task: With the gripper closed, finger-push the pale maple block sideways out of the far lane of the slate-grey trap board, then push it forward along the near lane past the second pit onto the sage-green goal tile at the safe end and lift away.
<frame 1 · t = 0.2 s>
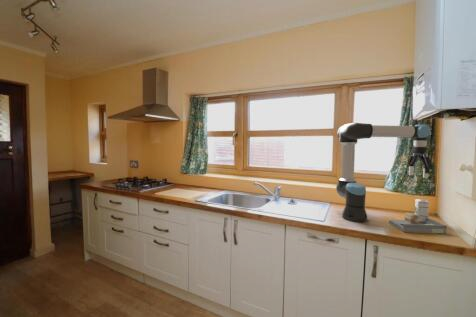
hand: (417, 176, 158), 28 cm above the countertop, fingers open, 13 cm apart
trap board: (415, 228, 134), on the countertop
syrup box: (420, 222, 144), on the countertop
maple block: (411, 222, 137), point 2 cm above the countertop, touching trap board
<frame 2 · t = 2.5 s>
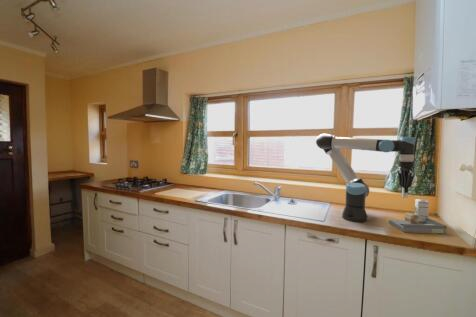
hand: (404, 197, 144), 16 cm above the countertop, fingers closed
nothing on the countertop moved.
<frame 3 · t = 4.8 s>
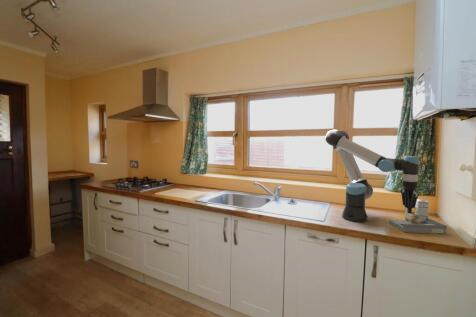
hand: (407, 217, 141), 4 cm above the countertop, fingers closed
maple block: (412, 222, 137), point 3 cm above the countertop, touching gripper
everything else where it was.
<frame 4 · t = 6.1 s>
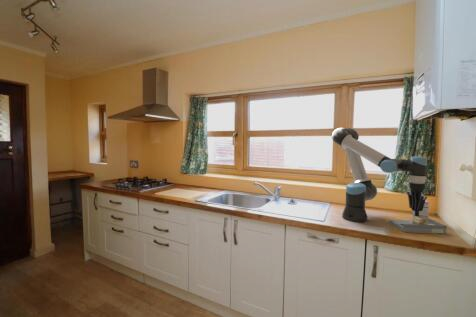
hand: (414, 221, 134), 4 cm above the countertop, fingers closed
maple block: (419, 225, 130), point 2 cm above the countertop, touching gripper, trap board
everything else where it was.
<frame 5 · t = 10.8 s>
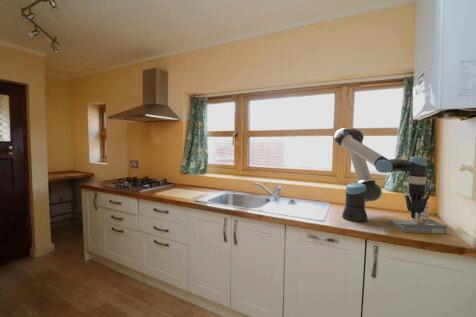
hand: (414, 223, 130), 4 cm above the countertop, fingers closed
maple block: (420, 225, 130), point 2 cm above the countertop, touching trap board
everything else where it was.
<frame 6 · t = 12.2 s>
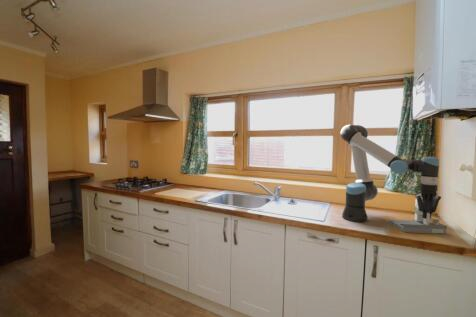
hand: (426, 223, 129), 4 cm above the countertop, fingers closed
maple block: (430, 226, 130), point 3 cm above the countertop, touching gripper, trap board
everything else where it was.
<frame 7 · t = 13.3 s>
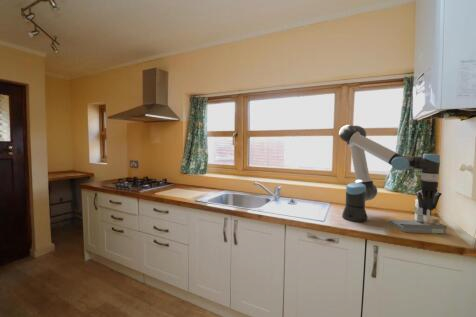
hand: (426, 220, 130), 6 cm above the countertop, fingers closed
maple block: (431, 226, 130), point 2 cm above the countertop, touching trap board
everything else where it was.
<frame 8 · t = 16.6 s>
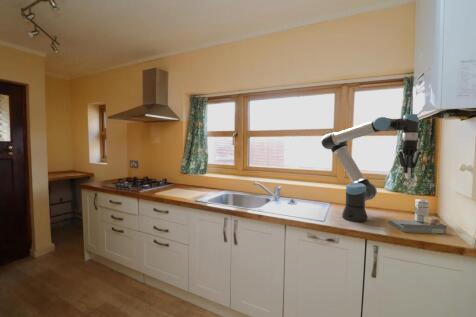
hand: (407, 178, 137), 29 cm above the countertop, fingers closed
nothing on the countertop moved.
at the end: maple block inside the target area (1.0 cm from its centre), point 2.5 cm above the countertop; maple block tilted 0° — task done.
